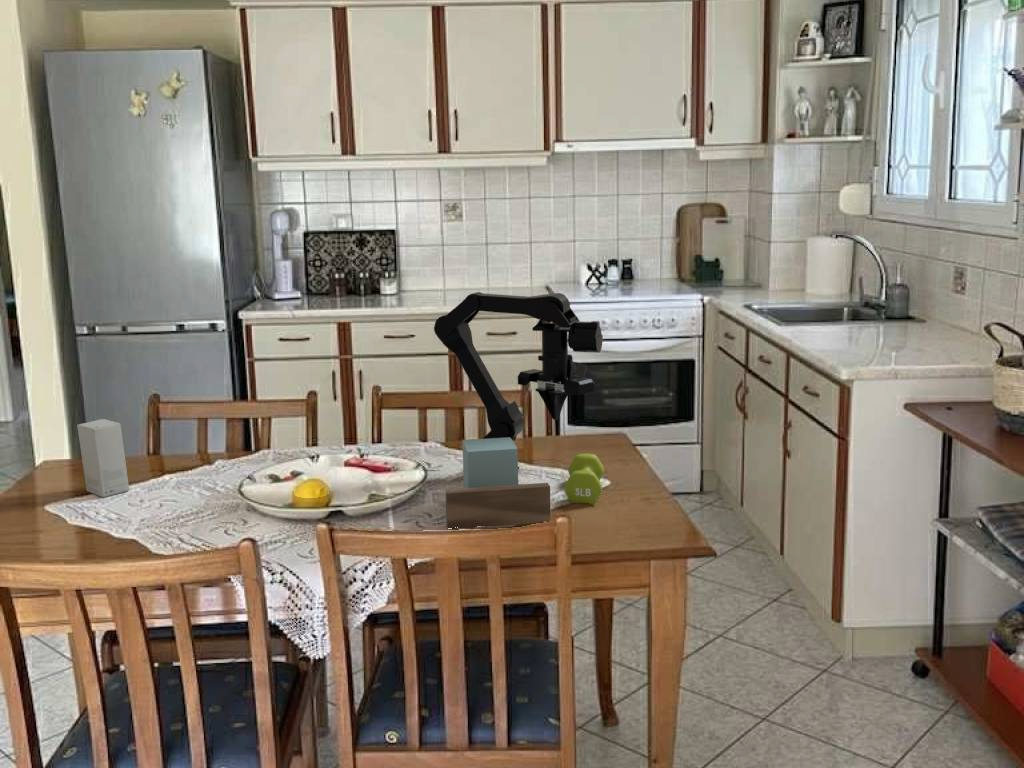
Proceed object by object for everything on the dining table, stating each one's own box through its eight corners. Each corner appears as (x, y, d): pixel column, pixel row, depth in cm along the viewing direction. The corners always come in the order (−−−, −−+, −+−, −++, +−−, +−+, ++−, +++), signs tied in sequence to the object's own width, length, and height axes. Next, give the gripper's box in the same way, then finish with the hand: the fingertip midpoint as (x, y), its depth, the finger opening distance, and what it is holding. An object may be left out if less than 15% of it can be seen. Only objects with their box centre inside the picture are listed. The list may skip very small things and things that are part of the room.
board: (446, 529, 192) (445, 489, 190) (548, 521, 195) (547, 482, 193) (447, 533, 189) (446, 493, 188) (550, 525, 192) (550, 486, 191)
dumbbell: (602, 508, 202) (602, 474, 201) (563, 507, 204) (562, 473, 202) (605, 483, 218) (605, 452, 217) (569, 483, 219) (568, 451, 218)
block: (464, 500, 206) (462, 440, 203) (511, 497, 207) (510, 437, 205) (469, 514, 197) (467, 451, 195) (518, 511, 199) (517, 448, 196)
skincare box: (129, 491, 219) (122, 423, 216) (100, 498, 214) (93, 429, 211) (112, 484, 225) (105, 417, 221) (83, 491, 220) (75, 423, 217)
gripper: (610, 350, 218) (610, 419, 221) (549, 341, 231) (550, 406, 234) (576, 357, 211) (577, 428, 214) (515, 348, 224) (516, 415, 227)
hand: (555, 419), depth 222 cm, fingers closed
